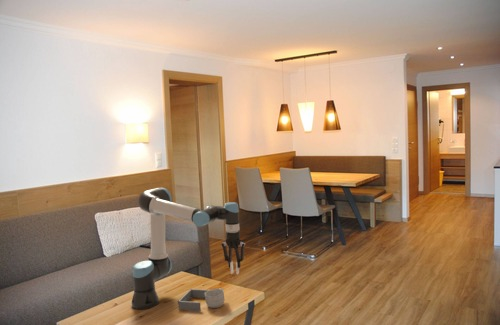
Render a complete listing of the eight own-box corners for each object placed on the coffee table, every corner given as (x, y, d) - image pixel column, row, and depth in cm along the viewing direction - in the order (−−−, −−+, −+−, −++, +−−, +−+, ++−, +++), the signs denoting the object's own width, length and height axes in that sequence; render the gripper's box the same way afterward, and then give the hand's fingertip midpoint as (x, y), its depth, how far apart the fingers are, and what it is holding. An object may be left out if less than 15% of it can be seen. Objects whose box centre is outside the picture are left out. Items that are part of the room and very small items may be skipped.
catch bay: (178, 309, 223) (177, 301, 223) (191, 296, 240) (190, 289, 240) (200, 310, 220) (199, 302, 219) (211, 297, 237) (211, 290, 236)
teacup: (215, 311, 218) (214, 297, 217) (201, 307, 224) (200, 293, 224) (232, 302, 229) (231, 288, 228) (217, 298, 235) (217, 285, 235)
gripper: (216, 232, 219) (219, 275, 220) (244, 233, 215) (246, 276, 216) (221, 229, 226) (223, 270, 228) (248, 229, 222) (250, 271, 224)
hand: (234, 273), depth 222 cm, fingers open, 3 cm apart
